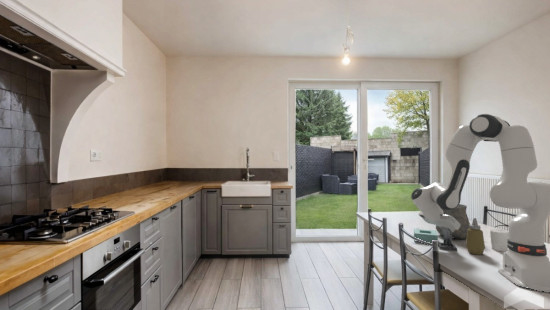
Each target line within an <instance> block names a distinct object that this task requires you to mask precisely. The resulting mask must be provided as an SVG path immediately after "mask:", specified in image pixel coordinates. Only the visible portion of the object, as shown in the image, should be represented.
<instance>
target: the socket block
mask: <svg viewBox="0 0 550 310" xmlns="http://www.w3.org/2000/svg"><path fill="white" fill-rule="evenodd" d="M414 237H416V238H419V239H421V240H423V241H426V242H430V243H432V240H438V241H439V236H438V231H437V230H436V229H435V230H433V229H422V228H421V229H420V228H413V238H414ZM413 240H414V239H413ZM415 242H416V243H418V242H417V241H415V240H414V243H415ZM430 243H429V244H430Z"/></svg>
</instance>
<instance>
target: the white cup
mask: <svg viewBox="0 0 550 310" xmlns="http://www.w3.org/2000/svg"><path fill="white" fill-rule="evenodd" d="M489 234H490V235H489V236H490V244H491V249H492V250H494V251H498V252H503V253H504V252H506V251H507V250H508V247H507V242H508V239H509V230H506V229H505V230H504V229H498V228H490V230H489Z"/></svg>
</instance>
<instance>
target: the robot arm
mask: <svg viewBox="0 0 550 310" xmlns="http://www.w3.org/2000/svg"><path fill="white" fill-rule="evenodd" d="M481 141H483V142H493V143H494V142H495V143H496V142H498V144H499V148H500V149H499V150H500V155H501V160H502V161H501V163H502V172H501V175H500V178H499V180H498V181H497V182H496V183H495V184H494V185H493V186H492V187H491V188H490V190H489V199H490V200H491V202H492V203H493V204H494V205H495V206H496V207H500V208H503V209H511V210H513V209H514V210H516V209H517V210H518V209H519V213H518V214H517V215H515V216H514V217H512V218H510V220H509V222H508V232H509V239H508V242H507V247H508V250H507V251H506V252H504V251H503V253H502V254H503V255H502V268H499V269H498V270H497V272H498V273H499V274H500V275H502V276H503V277H504V278H506V279H507V280H508V281H510V282H511V283H513V284H514V283H515V284H516V285H515V284H514V285H515V286H517V285H518V286H517V287H519V286H523V287H528V288H531V289H534V290H533V291H536V290H537V292H542V291H544V292H543V293H549V292H550V259H549V257H548V256H547V255H548V252H547V251H548V250H547V247H546V244H545V229H546V228H545V227H546V223H547V220H548V218H549V216H550V183H546V182H537V181H535V182H528V176H529V174H531V173H532V172H534V171H535V170H536V169H537V168H538V161H537V156H536V151H535V147H534V146H535V145H534V141H533V139H532V136H531V133H530V132H529V130H528V128H527V127H525V126H524V125H520V124H519V125H517V124H515V125H513V124H512V125H510V123H509V122H508V121H506V120H504V119H502V118H501V117H499V116H495V115H492V114H488V113H481V114H478V115H476V116H474V117H473V118H472V119H471V120H470V122H469V125H468V124H467V125H466V124H465V125H461V126H459V127H458V128H457V130H456V131H455V132H454V133H453V136H452V137H451V139H450V141H449V143H448V144H447V147H446V150H445V158H446V160H447V162H448V163H449V164H450V167H451V170H452V171H451V172H452V173H451V177H450V180H449V181H448V185H447V186H446V185H445V184H443V183H441V182H440V181H435V182H432V183H430V184H429V185H427V186H425V187H418V188H415V189H414V190H412V193H411V197H410V198H411V200H412V202H413V204H414V205H415V206H416V207H417V208H418V209H419V213H418V216H419V217H420V218H422V220H423V221H424V222H426V223H427V224H431V225H433V226H436V225H437V226H438V227H440V228H441V229H442V230H443V227H446V228H449V231H450V232H454V230H458V229H459V228H460V226H461V225H460V223H459V222H458V221H457V220H456V219H455V218H453V217H452V216H449V215H444V214H443V210H453V209H455V208H456V207H457V206H458V205H459V204H460V203H461V200H462V199H461V198H462V197H461V196H462V191H463V189H464V186H465V184H466V180H467V178H468V175H469V172H470V167H471V165H470V163H471V158H472V157H473V153H474V151H475V148H476V146H477V145H478V144H479V143H480V142H481ZM442 209H443V210H442ZM531 289H530V290H531Z"/></svg>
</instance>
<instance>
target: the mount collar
mask: <svg viewBox="0 0 550 310" xmlns="http://www.w3.org/2000/svg"><path fill="white" fill-rule="evenodd" d="M437 245H439V246H438V248H439V250H443V251H444V250H445V251H454V252H457V251H458V248H457V246H456V244H455V243H452V245H447V244H444V242H440V241H438V244H437Z"/></svg>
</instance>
